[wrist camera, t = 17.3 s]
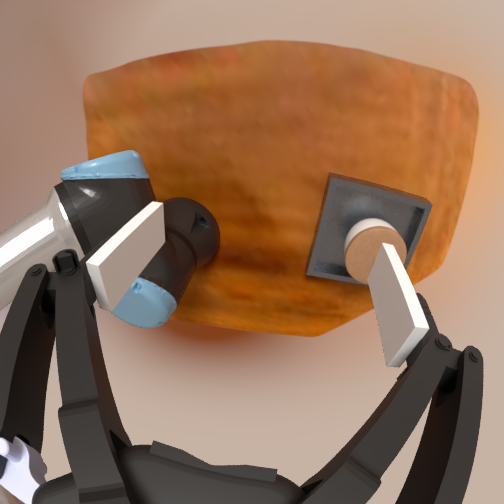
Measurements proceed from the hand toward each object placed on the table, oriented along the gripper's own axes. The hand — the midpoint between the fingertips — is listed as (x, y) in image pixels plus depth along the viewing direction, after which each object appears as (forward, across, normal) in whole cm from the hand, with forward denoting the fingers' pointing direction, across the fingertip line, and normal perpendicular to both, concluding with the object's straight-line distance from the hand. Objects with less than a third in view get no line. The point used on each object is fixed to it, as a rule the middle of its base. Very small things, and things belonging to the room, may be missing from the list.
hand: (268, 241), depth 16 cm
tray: (+32, -17, +13) cm, 38 cm away
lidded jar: (+31, -17, +13) cm, 38 cm away
